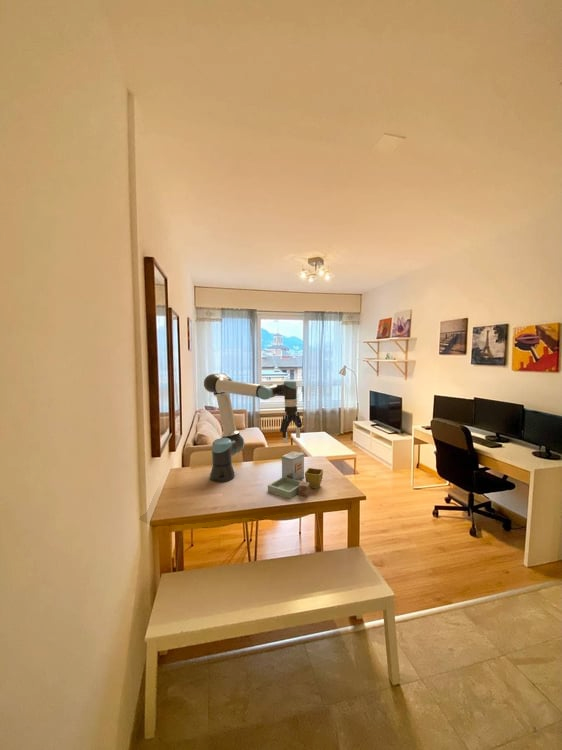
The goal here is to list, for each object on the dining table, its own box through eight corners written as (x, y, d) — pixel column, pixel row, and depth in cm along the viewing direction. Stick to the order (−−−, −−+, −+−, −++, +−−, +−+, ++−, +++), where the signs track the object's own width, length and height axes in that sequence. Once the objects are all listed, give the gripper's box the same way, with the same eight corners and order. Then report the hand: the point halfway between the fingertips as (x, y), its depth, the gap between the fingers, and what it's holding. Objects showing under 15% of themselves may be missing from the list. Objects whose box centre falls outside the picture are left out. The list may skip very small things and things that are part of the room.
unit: (281, 480, 184) (281, 456, 183) (293, 473, 194) (293, 451, 193) (293, 484, 179) (293, 459, 178) (305, 477, 189) (304, 453, 188)
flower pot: (304, 488, 173) (304, 472, 172) (308, 482, 181) (308, 467, 180) (319, 490, 170) (319, 475, 169) (323, 484, 178) (323, 469, 177)
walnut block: (298, 496, 164) (298, 485, 163) (300, 492, 168) (300, 481, 168) (307, 497, 162) (307, 486, 162) (309, 493, 167) (309, 482, 166)
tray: (267, 491, 170) (267, 485, 169) (283, 482, 181) (283, 476, 181) (289, 498, 161) (289, 492, 160) (305, 488, 172) (305, 482, 172)
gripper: (283, 409, 173) (284, 446, 174) (307, 403, 193) (307, 436, 194) (273, 408, 178) (274, 444, 179) (297, 402, 198) (298, 434, 199)
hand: (291, 440), depth 186 cm, fingers open, 13 cm apart
